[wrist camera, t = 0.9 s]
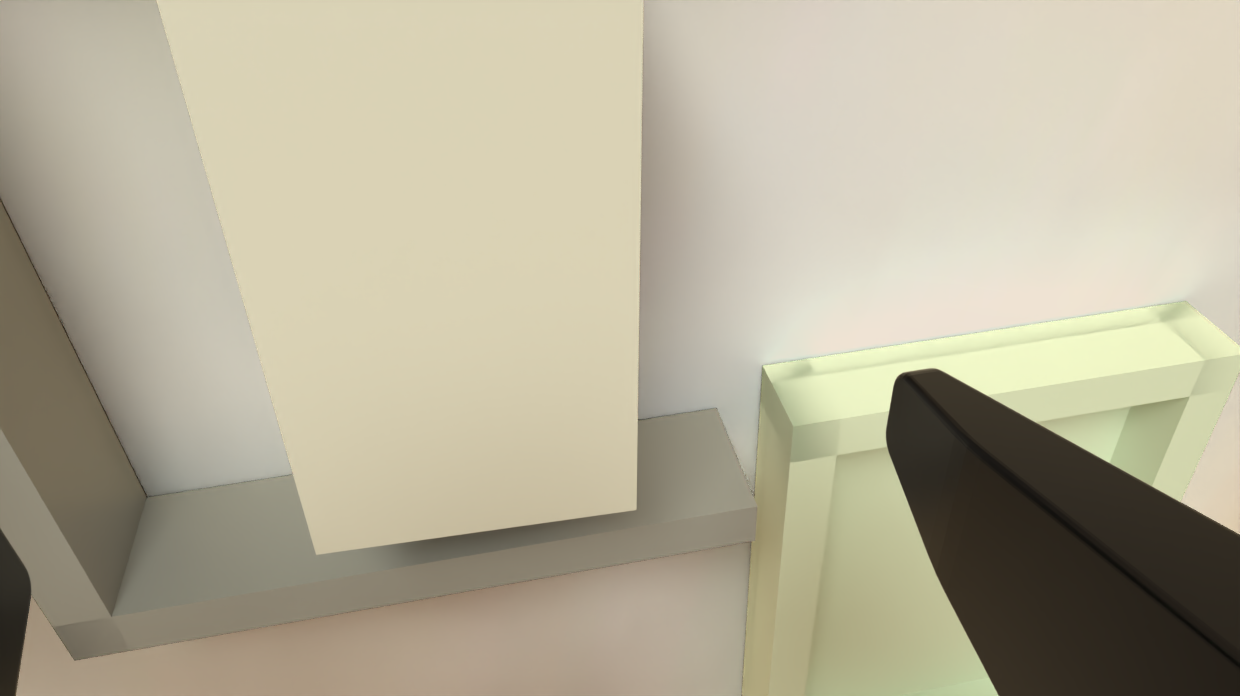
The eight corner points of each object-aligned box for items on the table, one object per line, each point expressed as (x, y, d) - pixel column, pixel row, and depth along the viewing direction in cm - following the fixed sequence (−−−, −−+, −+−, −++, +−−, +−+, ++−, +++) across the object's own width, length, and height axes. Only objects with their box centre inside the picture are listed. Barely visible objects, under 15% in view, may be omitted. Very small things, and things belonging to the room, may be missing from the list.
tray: (1185, 300, 21) (1247, 353, 20) (1044, 665, 30) (1080, 722, 28) (762, 365, 20) (793, 426, 19) (739, 726, 29) (759, 789, 27)
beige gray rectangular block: (573, -170, 14) (645, -97, 10) (587, 331, 19) (636, 509, 15) (213, -160, 13) (134, -75, 9) (333, 359, 18) (316, 554, 14)
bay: (741, -511, 12) (827, -551, 9) (715, 441, 21) (755, 541, 19) (-436, -472, 10) (-692, -507, 8) (113, 538, 20) (74, 660, 17)
